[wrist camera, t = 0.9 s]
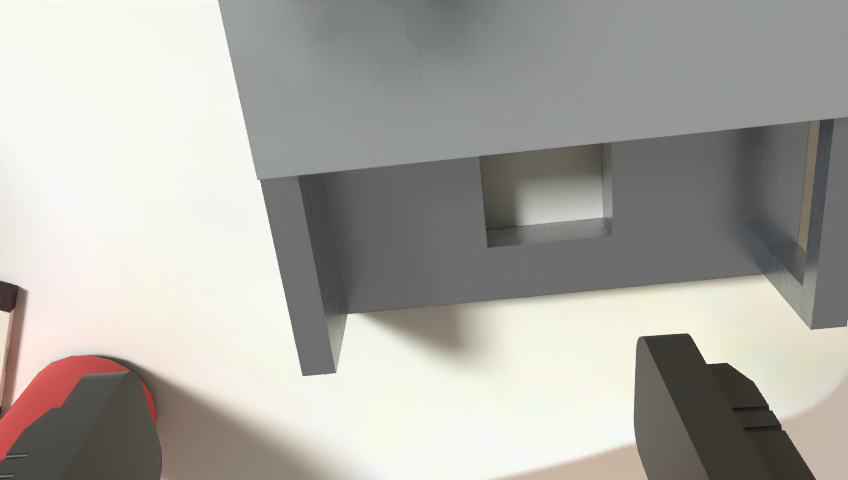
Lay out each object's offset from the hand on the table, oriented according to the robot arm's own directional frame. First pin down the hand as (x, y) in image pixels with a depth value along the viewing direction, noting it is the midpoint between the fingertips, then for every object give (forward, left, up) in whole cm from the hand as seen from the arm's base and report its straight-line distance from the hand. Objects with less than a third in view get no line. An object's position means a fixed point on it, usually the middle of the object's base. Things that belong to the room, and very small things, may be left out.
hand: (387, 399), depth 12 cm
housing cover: (-3, +5, -16) cm, 17 cm away
